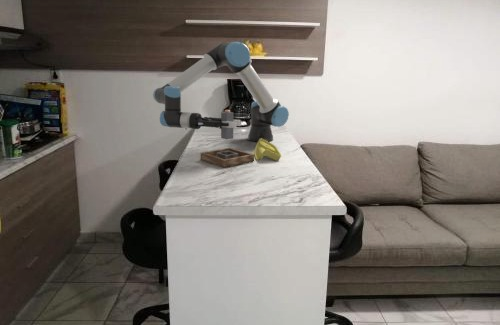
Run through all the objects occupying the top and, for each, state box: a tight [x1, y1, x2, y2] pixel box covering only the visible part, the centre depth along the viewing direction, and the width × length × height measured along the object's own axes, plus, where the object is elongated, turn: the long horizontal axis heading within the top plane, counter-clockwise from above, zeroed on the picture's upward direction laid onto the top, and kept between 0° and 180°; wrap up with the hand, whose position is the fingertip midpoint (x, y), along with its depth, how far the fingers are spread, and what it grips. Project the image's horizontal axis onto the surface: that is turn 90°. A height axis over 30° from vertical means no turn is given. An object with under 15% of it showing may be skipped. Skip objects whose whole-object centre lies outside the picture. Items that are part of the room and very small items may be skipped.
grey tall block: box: [220, 109, 235, 140], centre depth 180 cm, size 4×4×13 cm
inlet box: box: [199, 147, 255, 169], centre depth 184 cm, size 18×18×4 cm
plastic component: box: [253, 138, 282, 162], centre depth 194 cm, size 20×7×10 cm
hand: (238, 124), depth 178 cm, fingers closed on grey tall block, 5 cm apart
